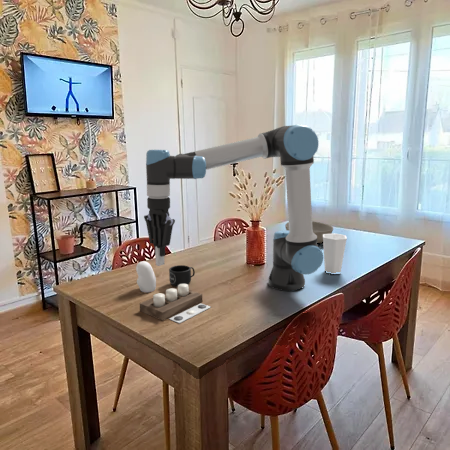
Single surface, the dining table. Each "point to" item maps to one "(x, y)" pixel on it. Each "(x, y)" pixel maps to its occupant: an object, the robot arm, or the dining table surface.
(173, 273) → the mug
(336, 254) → the cup
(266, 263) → the dining table surface
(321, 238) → the bowl
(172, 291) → the button middle
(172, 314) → the board
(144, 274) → the figurine
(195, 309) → the card
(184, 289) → the button right
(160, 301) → the button left
